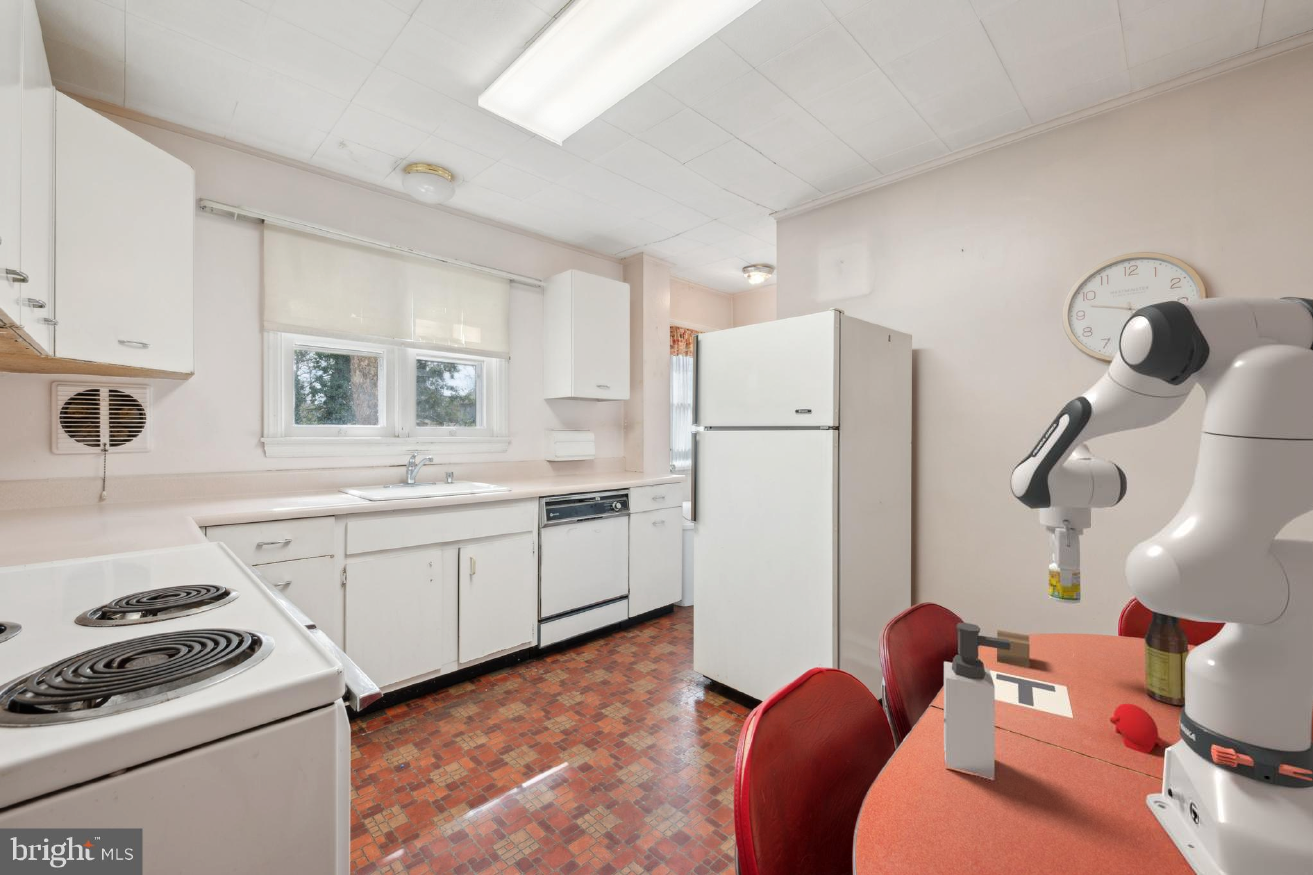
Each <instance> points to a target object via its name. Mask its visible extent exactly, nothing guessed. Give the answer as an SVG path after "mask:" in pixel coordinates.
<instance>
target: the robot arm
mask: <svg viewBox="0 0 1313 875" xmlns="http://www.w3.org/2000/svg"><path fill="white" fill-rule="evenodd" d="M1118 342H1119V343H1118V351H1117V352H1116V354H1115V356H1114V357H1113V359H1112V361H1111V362H1110V365H1109V367H1108V368H1107V370H1106V372H1105V373H1104V374H1103V375H1102V377H1101V378H1100V379H1099V380H1097V382H1095V384H1093V385H1092V386H1091V387H1090V388H1089V389H1088V390H1087V391H1085V392H1084V393H1082V394H1081V395H1079V396H1077V397H1076V398H1074V399H1071V400H1070V401H1069V402H1067V403H1066V404H1065V405H1064V406H1063V408H1061V410H1060V411H1059V413H1058V414H1057V415H1056V417H1055V418H1054V419H1053V420H1052V422H1051V423H1050V424H1049V426H1048V427H1047V428H1046V430H1045V431H1044V433H1043V434H1042V436H1041V437H1040V439H1039V440H1038V441H1037V443H1036V444H1035V445H1034V447H1033V448H1032V449H1031V451H1030V452H1029V453H1028V454H1027V456H1025V457H1024V458H1023V459H1022V460H1021V461H1020V462H1019V463H1018V464H1017V465H1016V466H1015V467H1014V469H1013V470H1012V472H1011V476H1010V489H1011V493H1012V494H1013V496H1014V497H1015V498H1016V499H1017V500H1018V501H1019V502H1020V503H1022V504H1023V505H1025V506H1026V507H1028V508H1030V509H1034V510H1036V509H1038V522H1039V524H1040V525H1043V526H1045V532H1047V533H1048V538H1049V544H1050V549H1051V551H1052V555H1053V554H1054V558H1055V561H1056V564H1057V567H1058V568H1060V583H1061V585H1062V586H1068V587H1070V586H1071V585H1072V574H1073V570H1079V569H1080V567H1081V543H1080V541H1081V540H1080V536H1083V535H1084V529H1086V530H1087V529H1090V528H1092V509H1103V508H1112V507H1115V506H1117V505H1118V504H1119V503H1120V502H1121V501H1122V500H1123V499H1124V497H1126V496H1125V495H1126V494H1127V490H1128V489H1127V488H1128V478H1127V476H1126V473H1125V472H1124V471H1123V470H1122V468H1121V467H1120V466H1119V465H1117V463H1114V462H1113V461H1111V460H1106V459H1102V458H1101V457H1098V456H1097V455H1095V454H1094V453H1092V452H1091V450H1090V448H1089V445H1087V444H1086V442H1087V441H1091V440H1093V439H1095V438H1098V437H1102V436H1106V435H1110V434H1114V433H1120V432H1124V431H1130V430H1136V429H1141V428H1147V427H1150V426H1154V425H1156V424H1159V423H1162V422H1163V421H1165V420H1167V419H1168V418H1169V417H1171V416H1172V415H1173V414H1174V413H1176V412H1177V411H1178V410H1179V409H1180V408H1181V407H1182V406H1183V404H1184V403H1185V402H1186V400H1187V399H1188V397H1189V395H1190V394H1191V393H1192V391H1193V390H1194V388H1195V386H1196V385H1197V384H1198V385H1199V386H1200V387H1201V388H1202V389H1203V391H1204V393H1205V394H1204V395H1205V404H1204V406H1205V407H1204V412H1203V416H1202V424H1201V431H1200V432H1201V433H1200V442H1199V448H1198V454H1197V461H1196V466H1195V472H1194V473H1195V474H1194V478H1193V482H1192V485H1191V488H1190V491H1189V493H1188V495H1187V497H1186V499H1185V500H1184V502H1183V504H1182V506H1181V507H1180V509H1179V510H1178V511H1177V513H1175V515H1174V516H1173V518H1171V520H1170V521H1169V522H1168V523H1167V524H1166V525H1165V526H1164V527H1163V528H1162V529H1160V530H1159V531H1158V532H1157V533H1156V534H1154V535H1152V536H1150V537H1149V538H1147V539H1146V540H1143V541H1141V542H1139V543H1138V544H1136V545H1135V546H1134V547H1133V548H1132V550H1130V552H1129V554H1128V556H1126V560H1125V565H1124V576H1125V581H1126V584H1127V586H1128V588H1129V590H1130V592H1131V593H1132V595H1133V596H1134V597H1135V598H1136V600H1137V601H1138V602H1139V603H1141V604H1142V606H1144V607H1145V608H1147V609H1148V610H1149V611H1152V612H1153V611H1154V612H1157V613H1161V614H1165V615H1169V616H1173V617H1178V618H1179V619H1183V620H1189V621H1194V622H1202V623H1220V624H1222V623H1223V624H1224V623H1225V624H1224V625H1223V627H1222V628H1221V629H1220V630H1219V632H1217V634H1216V635H1215V636H1213V637H1212V638H1211V639H1209V640H1207V641H1205V642H1203V643H1201V644H1198V645H1197V646H1195V647H1194V648H1193V649H1191V650H1190V651H1189V654H1188V656H1187V658H1186V662H1185V705H1183V707H1182V708H1181V709H1180V715H1179V719H1178V725H1179V735H1180V739H1179V740H1178V741H1177V742H1176V743H1174V744H1173V745H1171V746H1169V747H1167V748H1165V750H1164V760H1163V762H1164V763H1163V774H1162V789H1161V793H1149V794H1147V796H1146V799H1145V800H1146V801H1145V804H1146V805H1147V807H1148V809H1150V811H1151V812H1152V814H1153V815H1154V816H1155V818H1156V819H1157V820H1158V822H1159V824H1160V826H1162V827H1163V829H1164V831H1165V832H1166V834H1168V837H1169V838H1170V839H1171V840H1172V841H1173V843H1174V845H1175V846H1176V847H1177V849H1178V850H1179V852H1180V853H1181V854H1182V856H1183V857H1184V858H1185V860H1186V861H1187V863H1188V864H1189V865H1190V867H1191V869H1192V870H1193V871H1194V872H1195V874H1196V875H1313V741H1312V719H1313V718H1312V717H1313V541H1311V540H1307V539H1306V540H1305V539H1298V538H1276V536H1277V535H1278V534H1279V533H1280V531H1281V530H1283V529H1284V527H1286V525H1288V524H1289V523H1290V522H1292V521H1293V520H1295V519H1297V518H1299V517H1301V516H1304V515H1305V514H1306V513H1309V512H1311V511H1313V299H1311V298H1306V297H1295V296H1284V297H1280V298H1274V297H1272V298H1271V297H1269V298H1268V297H1236V296H1220V297H1219V296H1218V297H1208V298H1199V299H1191V300H1183V301H1177V300H1168V301H1162V302H1158V303H1154V304H1150V305H1147V306H1144V307H1141V308H1139V309H1137V310H1135V311H1134V313H1132V314H1131V315H1130V317H1129V318H1128V319H1127V320H1126V322H1125V323H1124V325H1123V326H1122V330H1121V331H1120V335H1119V340H1118Z"/></svg>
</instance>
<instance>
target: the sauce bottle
mask: <svg viewBox="0 0 1313 875" xmlns="http://www.w3.org/2000/svg"><path fill="white" fill-rule="evenodd" d="M1150 621H1151V622H1150V624H1149V626H1148V629H1147V632H1146V633H1145V635H1144V658H1145V659H1144V660H1145V662H1144V664H1145V667H1144V668H1145V687H1146V691H1147V694H1148V695H1149V696H1150V697H1151V698H1153V699H1155V700H1157V701H1159V702H1162V703H1164V704H1167V705H1168V704H1169V705H1176V706H1185V662H1186V658H1187V656H1188V654H1189V653H1190V650H1189V644H1188V642H1189V640H1188V636H1187V634H1186V632H1185V630H1184V629H1183V628H1182V626H1181V625H1180V618H1178V617H1173V616H1169V615H1165V614H1161V613H1157V612H1154V611H1152V615H1151V620H1150Z"/></svg>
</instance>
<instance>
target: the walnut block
mask: <svg viewBox="0 0 1313 875" xmlns="http://www.w3.org/2000/svg"><path fill="white" fill-rule="evenodd" d="M996 634H997V635H996V638H1001V639H1009V641H1010V650H1005V649H999V648H996V662H997V663H1002V664H1005V665H1010V666H1011V665H1012V666H1015V667H1016V666H1017V667H1021V668H1027V669H1030V649H1031V648H1030V647H1031V646H1030V636H1029V635H1028V634H1024V633H1017V632H1011V631H1006V630H999V629H997V633H996Z"/></svg>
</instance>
